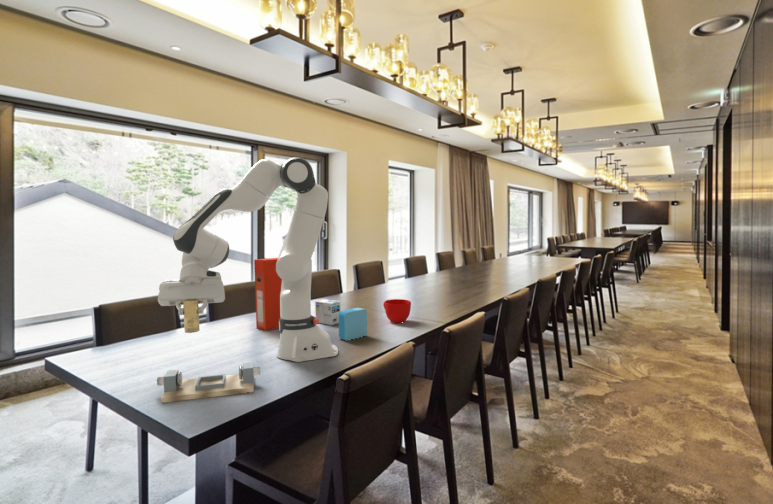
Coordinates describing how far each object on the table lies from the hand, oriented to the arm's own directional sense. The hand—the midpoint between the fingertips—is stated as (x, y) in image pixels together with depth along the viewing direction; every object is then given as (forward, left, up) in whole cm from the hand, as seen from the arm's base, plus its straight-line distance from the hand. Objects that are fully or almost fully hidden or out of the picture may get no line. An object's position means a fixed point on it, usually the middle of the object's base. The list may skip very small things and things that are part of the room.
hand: (191, 313), depth 134 cm
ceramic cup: (-85, -47, -20) cm, 99 cm away
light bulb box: (-53, -54, -20) cm, 78 cm away
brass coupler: (0, -1, -6) cm, 6 cm away
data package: (-59, -25, -20) cm, 67 cm away
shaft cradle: (-7, +15, -20) cm, 26 cm away
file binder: (-29, -55, -20) cm, 65 cm away
